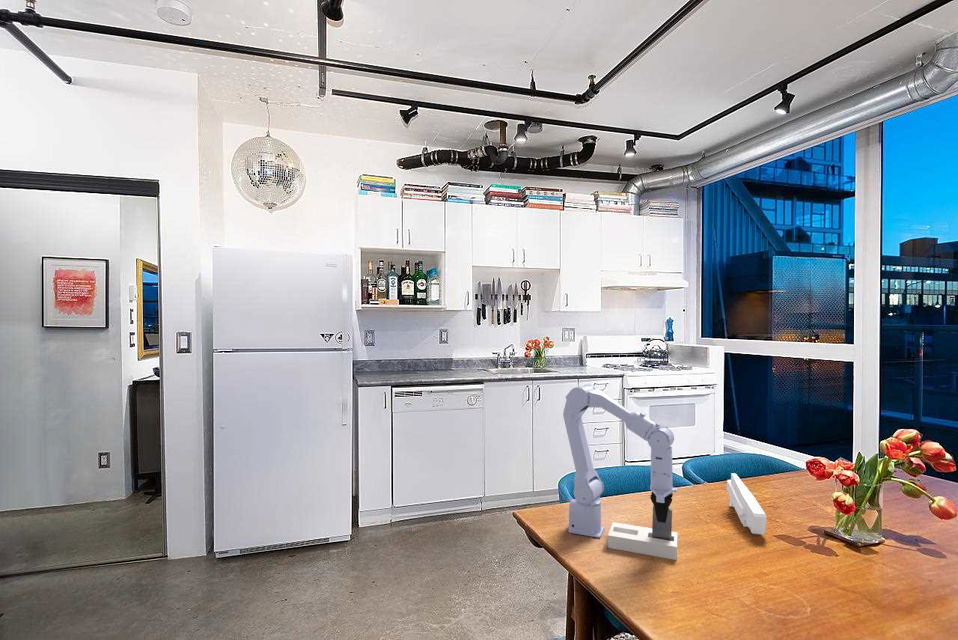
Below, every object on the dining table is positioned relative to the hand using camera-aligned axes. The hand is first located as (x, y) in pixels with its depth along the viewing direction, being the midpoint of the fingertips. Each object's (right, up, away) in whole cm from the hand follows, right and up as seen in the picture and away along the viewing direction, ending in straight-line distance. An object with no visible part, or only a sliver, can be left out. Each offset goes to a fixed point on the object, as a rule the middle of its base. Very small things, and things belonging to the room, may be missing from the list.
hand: (661, 520), depth 135 cm
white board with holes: (-5, -8, +2) cm, 10 cm away
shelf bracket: (+34, -9, +20) cm, 40 cm away
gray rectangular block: (0, -6, 0) cm, 6 cm away
